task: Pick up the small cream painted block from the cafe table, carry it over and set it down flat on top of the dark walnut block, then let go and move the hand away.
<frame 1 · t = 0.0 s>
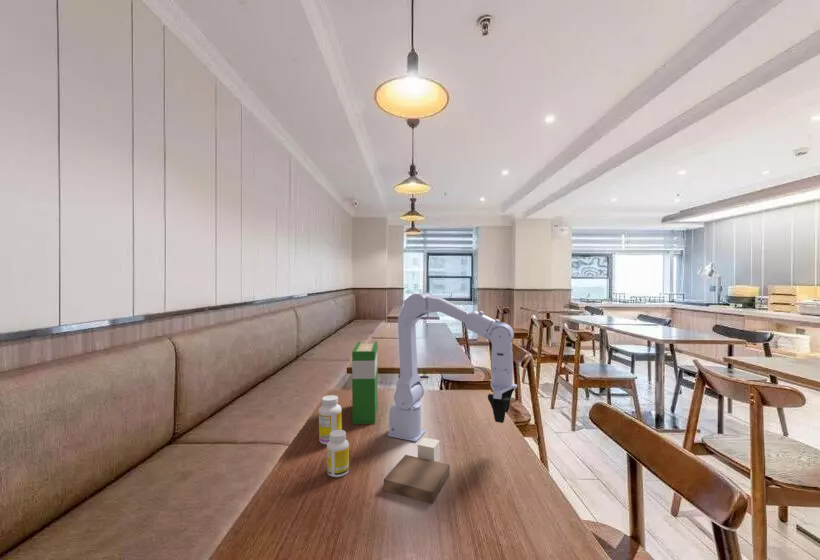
hand: (501, 416, 97), 10 cm above the table, tool pointing down, fingers open, 7 cm apart
walnut block: (417, 482, 84), on the table
hardback book: (365, 413, 125), on the table
supplement bottle: (338, 472, 88), on the table
cream block: (428, 461, 93), on the table
supplement bottle 2: (330, 441, 105), on the table
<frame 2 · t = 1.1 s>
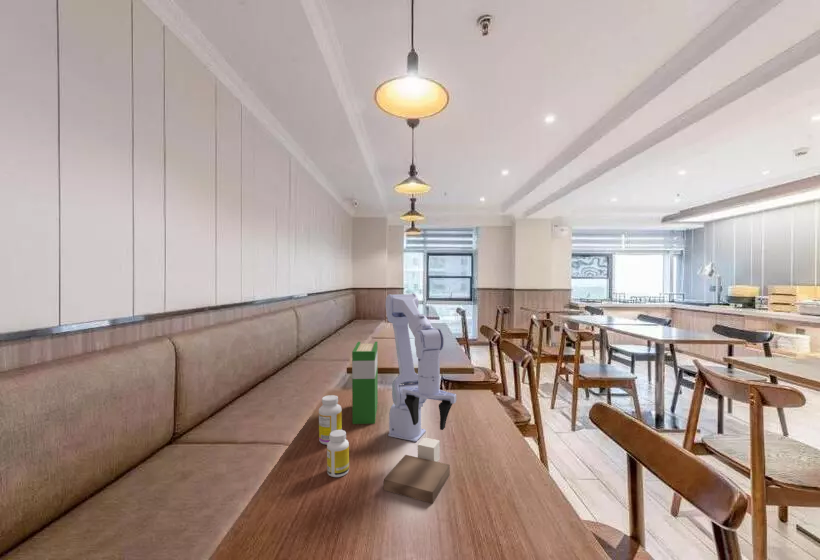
hand: (428, 425, 93), 9 cm above the table, tool pointing down, fingers open, 7 cm apart
nothing on the table moved.
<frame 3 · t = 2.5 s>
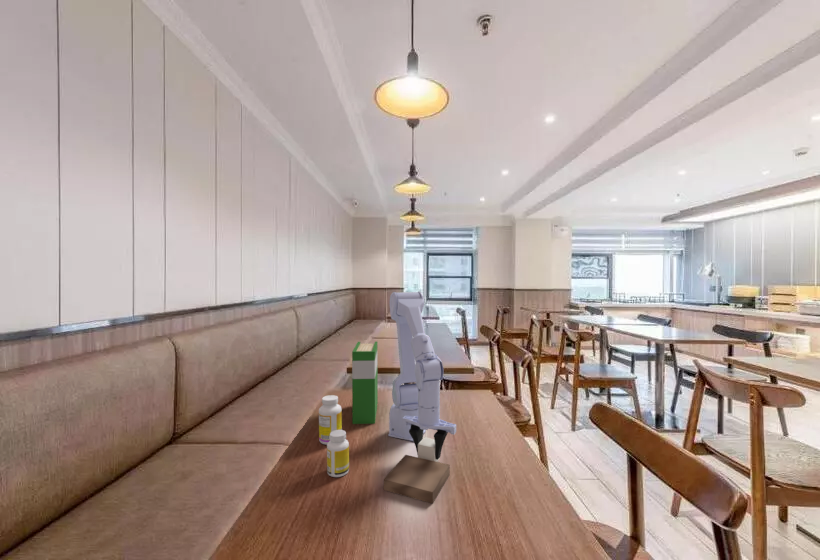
hand: (428, 455, 93), 1 cm above the table, tool pointing down, fingers closed on cream block, 4 cm apart
cream block: (428, 460, 93), on the table, touching gripper
everything else where it was.
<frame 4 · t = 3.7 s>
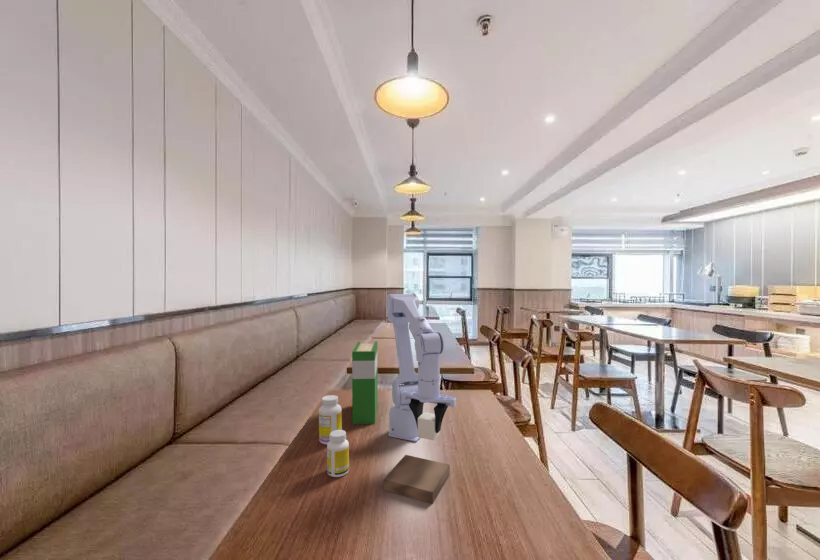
hand: (428, 429, 93), 8 cm above the table, tool pointing down, fingers closed on cream block, 4 cm apart
cream block: (428, 435, 93), point 7 cm above the table, touching gripper
everything else where it was.
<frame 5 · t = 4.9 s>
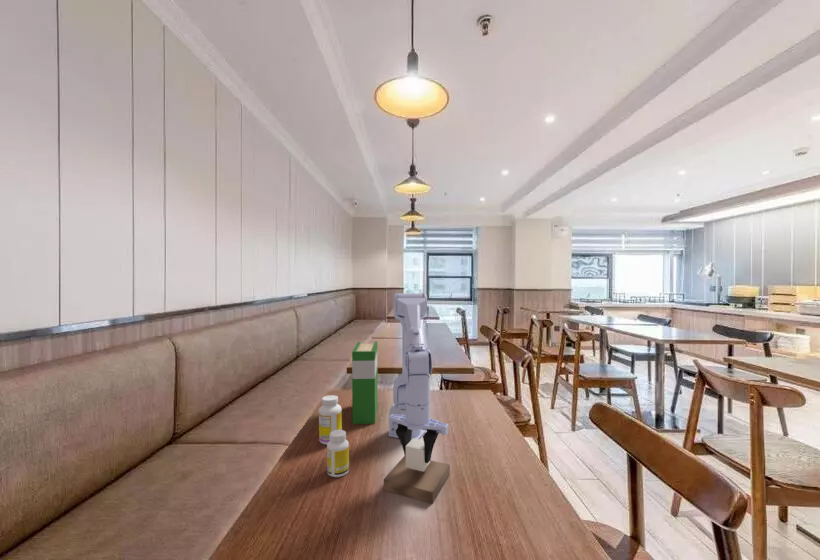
hand: (417, 458, 84), 6 cm above the table, tool pointing down, fingers closed on cream block, 4 cm apart
cream block: (418, 464, 84), point 4 cm above the table, touching gripper
everything else where it was.
when the fingers open (5 cm above the table, at t = 5.4 s): cream block drops 1 cm, resting on walnut block.
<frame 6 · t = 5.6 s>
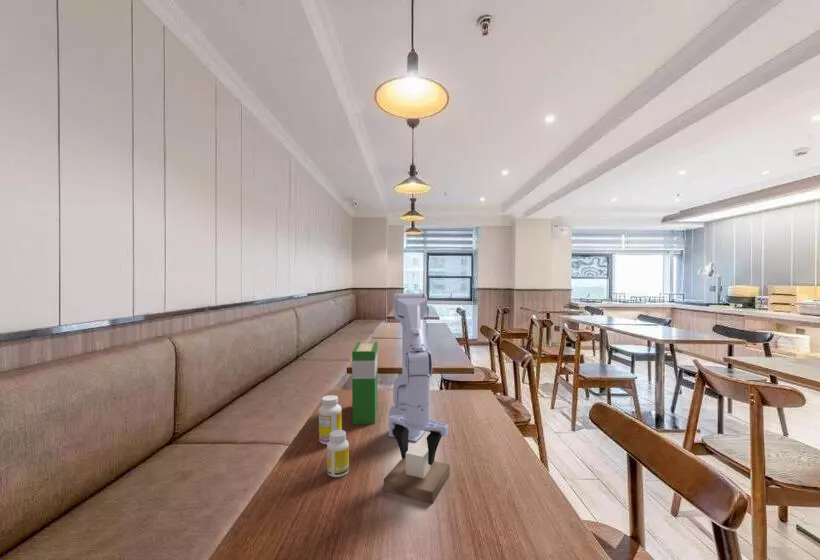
hand: (417, 459, 84), 5 cm above the table, tool pointing down, fingers open, 6 cm apart
cream block: (418, 471, 84), point 2 cm above the table, touching walnut block
everything else where it was.
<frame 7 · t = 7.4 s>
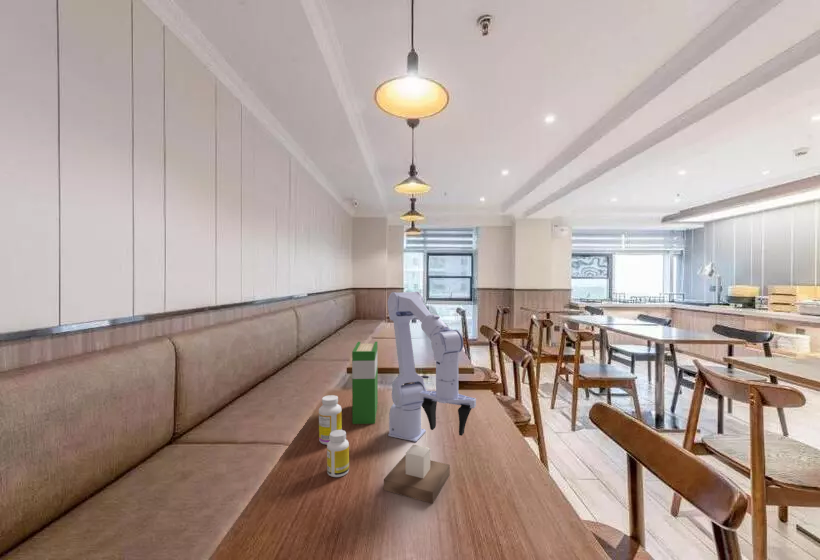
hand: (447, 431, 90), 9 cm above the table, tool pointing down, fingers open, 7 cm apart
nothing on the table moved.
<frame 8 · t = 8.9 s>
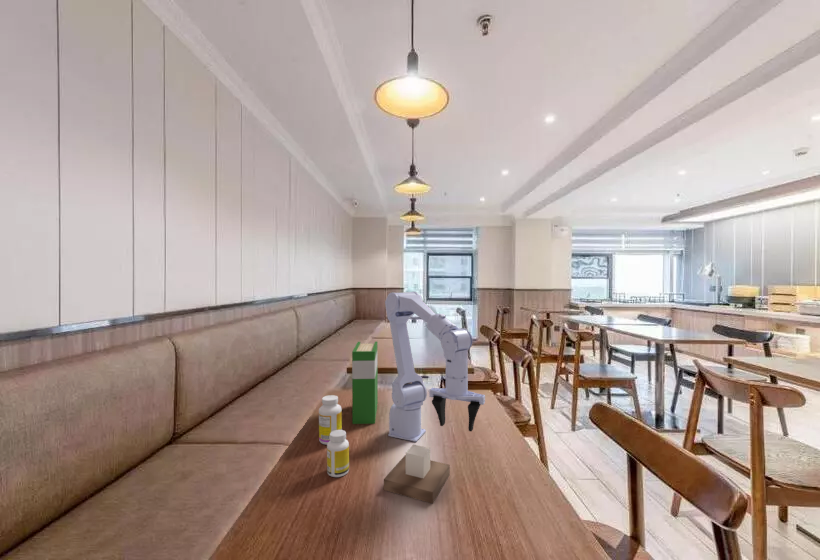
hand: (456, 427, 92), 9 cm above the table, tool pointing down, fingers open, 7 cm apart
nothing on the table moved.
at the end: cream block inside the target area on the walnut block (0.2 cm from its centre), point 2.5 cm above the walnut block's base; cream block tilted 0°; the gripper is holding nothing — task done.
